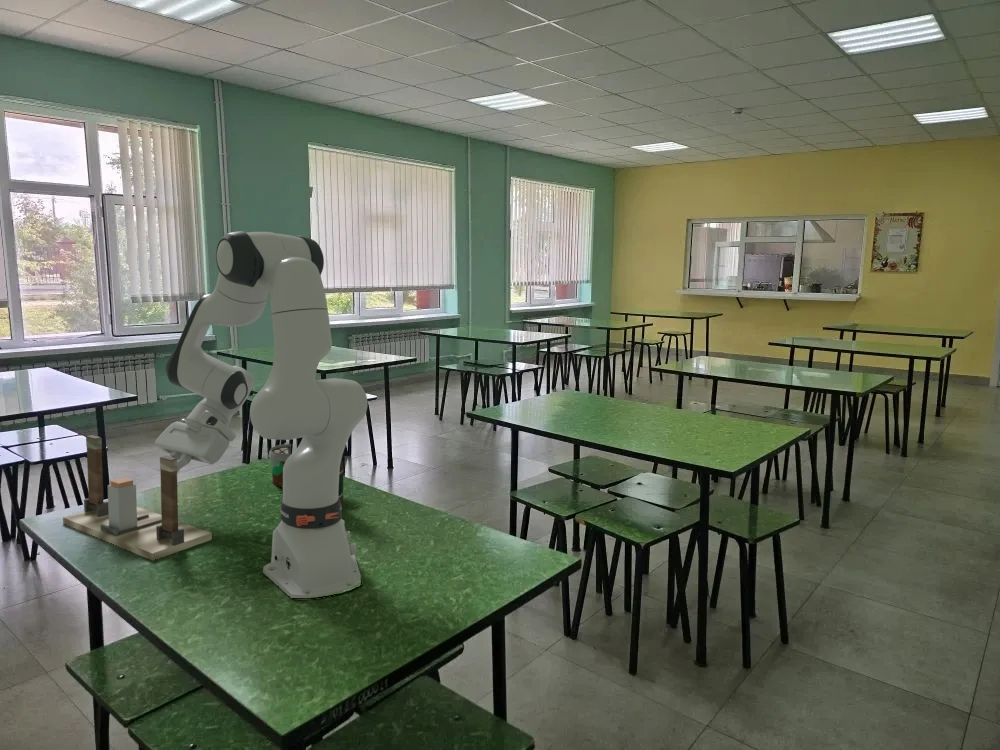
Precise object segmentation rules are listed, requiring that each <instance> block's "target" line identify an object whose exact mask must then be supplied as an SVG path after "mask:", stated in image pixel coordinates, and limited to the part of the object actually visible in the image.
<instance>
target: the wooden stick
mask: <svg viewBox="0 0 1000 750" xmlns="http://www.w3.org/2000/svg"><path fill="white" fill-rule="evenodd" d="M102 440H103V439H102V437H101V436H97V435H94V434H91V435H86V436H85V442H86V443H85V445H86V446H85V447H86V460H87V463H86V464H87V485H88V486H87V489H88V498H89V502H90V503H89V505H88V508H89V509H92V510H94V511H97V507H96V504H99V503H102V502H104V483H103V482H104V481H103V479H104V478H103V451H102V449H103V442H102Z"/></svg>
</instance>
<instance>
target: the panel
mask: <svg viewBox="0 0 1000 750" xmlns="http://www.w3.org/2000/svg"><path fill="white" fill-rule="evenodd" d="M89 503H90V502H89V497H88V498H84V499H83V507H84V508H83V509H84V511H81V512H78V513H74V514H70V515H67V516H63V517H62V522H63V523H62V524H63V525H65V524H66V525H65V526H67V525H68V527H69V526H70V528H72V527H73V528H72V529H74V528H75V530H77V531H80V532H82V533H85V534H86V535H89V536H91V535H92V537H94V536H95V537H94V538H96V537H97V539H99V540H101V539H102V540H101V541H104V540H105V541H104V542H106V541H107V542H106V543H108V542H109V544H111V543H112V544H111V545H113V544H114V545H113V546H116V545H117V546H116V547H118V546H119V547H118V548H121V549H123V550H125V549H126V551H128V552H130V551H131V553H133V554H135V555H137V556H140V557H142V558H145V559H148V560H150V561H153V562H154V561H155V559H156V560H159V559H162V558H165V557H168V556H169V555H172V554H176V553H178V552H180V551H181V552H182V551H184V550H187V549H189V548H190V549H191V548H192V547H195V546H197V545H201V544H204V543H206V542H210V541H212V540H213V539H212V536H213V535H212V534H213V533H212V532H211V531H208V530H205V529H201V528H200V527H196V526H193V525H190V524H188V523H185V522H182V521H179V520H178V530H175V531H172V532H171V539H169V538H166V537H163V536H162V535H161V531H162V530H163V529H162V516H161V514H159V513H156V512H155V511H151V510H148V509H146V508H145V509H144V508H142V507H139V506H137V527H133V528H130V529H127V530H123V531H120V532H119V530H117V529H114V528H111V527H109V510H108V500H106V501H103V502H102V503H99V504H96V507H97V511H94V510H92V509H89V508H88V505H89ZM161 557H162V558H161Z"/></svg>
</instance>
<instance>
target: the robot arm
mask: <svg viewBox="0 0 1000 750" xmlns="http://www.w3.org/2000/svg"><path fill="white" fill-rule="evenodd" d="M215 254H216V255H215V258H216V259H215V260H216V267H217V269H218V270H219V273H218V276H217V279H216V284H215V287H214V289H213V292H212V293H207V294H206V293H205V294H203V296H201V297H200V299H199V300H198V301H197V302H196V304H195V305H194V307H193V308H192V310H191V312H190V315H189V317H188V318H187V321H186V323H185V325H184V328H183V330H182V332H181V335H180V338H178V342H177V343H176V346H175V349H174V350H173V351H172V353H171V354H170V356H169V358H168V360H167V362H166V365H165V374H166V377H167V379H168V381H169V383H171V384H172V385H174V386H177V387H180V388H182V389H186V390H188V391H190V392H192V393H194V394H196V395H198V396H200V397H201V398H202V397H203V399H202V400H200V401H199V402H198V403H197V404H196V405H195V406H194V408H193V409H192V411H190V413H189V414H188V415H187V417H186V419H185V418H181V419H180V420H177V421H175V422H172V423H171V424H169V425H168V426H167V427H165V429H164V430H163V432H161V434H159V436H157V438H156V439H155V442H154V447H156V448H157V449H158V450H160V451H161V452H162V453H165V454H169V457H173V458H176V459H177V474H178V473H179V472H180V471H181V469H182V468H183V467H186V466H187V465H189V463H190V462H191V461H192V460H193V461H195V462H196V461H197V462H200V463H204V464H207V465H211V466H212V465H214V464H216V463H217V462H219V461H220V460H221V458H222V457H223V455H224V454H225V452H226V451H227V449H228V448H229V446H230V442H233V441H234V440H235V438H236V437H237V436H236V435H237V434H235V432H234V431H233V430H232V429H231V428H230V427H229V424H230V423H231V420H232V417H233V416H234V415H235V414H236V413H238V412H239V411H240V409H241V408H242V406H243V405H244V403H245V402H246V400H247V399H248V397H249V395H250V393H251V391H252V389H253V387H254V385H255V380H254V377H253V376H252V375H251V373H250V372H249V371H247V369H246V368H244V367H242V366H238V365H231V364H229V363H228V362H225V361H222V360H221V359H218V358H216V357H213V356H212V355H210V354H208V353H207V352H205V351H204V349H203V348H202V345H203V342H204V340H205V337H206V335H207V333H208V331H209V329H210V326H221V327H229V328H238V327H239V328H240V327H244V326H247V325H251V324H252V323H254V322H256V321H257V320H258V319H259V318H260V317H261V316H262V315H263V313H264V310H265V307H266V304H267V301H268V297H269V305H270V316H271V324H272V332H273V333H272V334H273V345H274V346H273V347H274V352H273V354H274V356H273V361H272V366H271V370H270V373H269V376H268V378H267V379H266V382H265V384H264V385H263V386H262V388H261V389H260V390H259V391H258V392H257V393H256V394H255V395H254V397H253V399H252V400H251V403H250V408H249V417H250V422H251V425H252V427H253V429H254V431H256V433H257V434H258V435H260V437H262V438H264V439H266V440H278V441H289V440H290V441H291V440H295V439H300V438H302V439H301V441H300V443H299V445H298V447H297V448H296V449H295V450H294V451H293V452H291V455H290V456H289V457H288V459H287V460H286V462H285V464H284V467H283V487H282V499H281V500H280V506H279V512H280V516H279V518H280V520H281V521H280V522H279V523H278V525H277V527H275V529H274V530H272V531H273V532H272V541H271V560H270V562H269V563H267V564H265V565H264V566H263V567H262V573H263V574H264V575H265V576H267V578H269V579H270V580H271V581H272V582H273V583H274V584H275V585H276V586H277V587H278V586H279V587H278V588H279V589H280V590H282V592H284V593H285V594H286V595H287V596H290V597H289V598H291V599H292V598H308V597H309V598H311V597H319V596H324V595H329V594H333V593H336V592H340V591H343V590H347V589H349V588H352V587H353V586H355V585H357V584H358V583H360V582H361V581H360V580H359V579H361V578H362V576H361V571H360V569H359V565H358V562H357V558H356V554H357V550H358V549H357V543H356V542H350V543H349V540H348V539H350V538H351V531H349V530H346V526H345V520H344V519H342V517H343V516H342V515H343V514H342V511H341V510H343V508H342V509H341V503H340V498H339V497H338V492H339V471H340V463H341V458H342V459H343V454H344V451H345V448H346V446H347V444H348V441H349V438H350V437H351V435H352V433H353V431H354V429H355V428H356V427H357V425H358V424H359V423H360V422H361V421H362V420H363V419H364V418H365V417H366V413H367V410H368V398H367V397H368V396H367V393H366V392H365V390H364V388H363V387H362V385H361V384H360V383H359V382H358V381H355V380H353V379H345V378H340V377H339V378H338V377H332V378H331V377H330V378H324V379H316V378H317V377H316V375H317V370H318V366H319V365H320V362H321V361H322V360H323V359H324V358H325V357H327V355H328V354H329V353H330V352H331V350H332V346H333V339H332V332H331V323H330V317H329V315H330V314H329V308H328V303H327V297H326V291H325V287H324V283H323V280H322V277H321V275H322V273H323V270H324V265H325V263H324V262H325V259H324V258H325V257H324V253H323V251H322V248H321V247H320V245H319V243H318V242H317V241H316V240H314V239H312V238H310V237H306V236H302V235H297V236H294V235H290V234H286V233H285V234H284V233H275V232H272V231H251V232H247V231H243V230H241V231H233V232H229V233H226V234H224V235H223V236H222V237H221V239H220V240H219V241H218V244H217V246H216V253H215ZM356 576H357V577H356ZM360 577H361V578H360ZM347 585H351V586H347Z"/></svg>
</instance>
